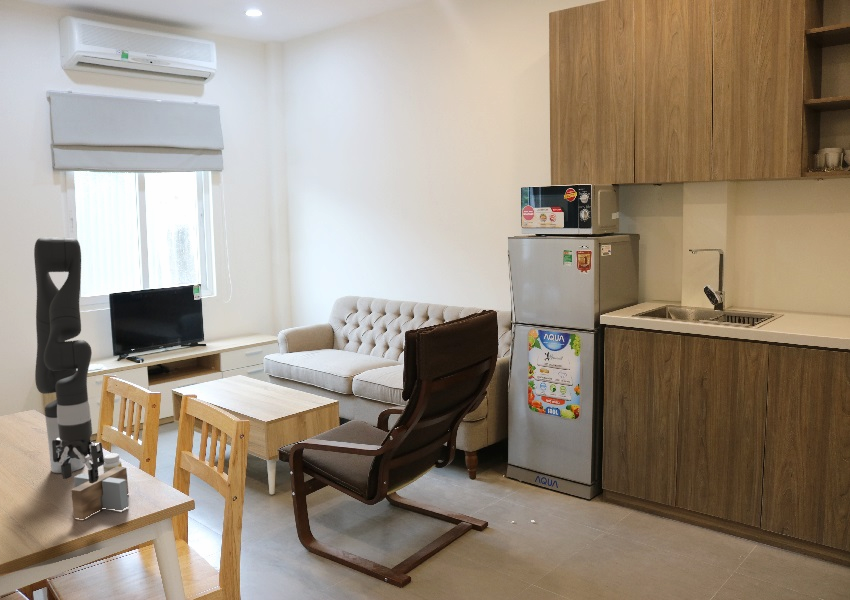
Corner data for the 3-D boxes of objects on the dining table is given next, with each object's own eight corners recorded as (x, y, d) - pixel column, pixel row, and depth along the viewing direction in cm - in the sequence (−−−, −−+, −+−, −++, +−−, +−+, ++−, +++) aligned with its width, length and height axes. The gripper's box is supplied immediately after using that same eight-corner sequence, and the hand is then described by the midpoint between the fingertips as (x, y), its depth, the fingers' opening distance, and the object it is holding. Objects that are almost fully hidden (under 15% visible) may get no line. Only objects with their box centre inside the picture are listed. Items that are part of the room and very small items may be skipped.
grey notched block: (76, 505, 192) (73, 476, 190) (83, 501, 194) (81, 473, 193) (121, 512, 187) (119, 483, 185) (128, 508, 189) (126, 479, 188)
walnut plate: (120, 494, 198) (117, 466, 197) (128, 495, 197) (126, 467, 196) (74, 519, 183) (70, 489, 182) (83, 520, 182) (80, 491, 181)
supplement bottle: (118, 479, 209) (115, 451, 208) (126, 482, 206) (123, 454, 205) (101, 484, 205) (99, 456, 204) (110, 488, 202) (107, 459, 201)
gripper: (108, 417, 182) (113, 477, 184) (64, 411, 186) (70, 471, 189) (85, 426, 175) (91, 489, 177) (40, 421, 180) (46, 482, 182)
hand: (80, 480), depth 183 cm, fingers open, 8 cm apart
